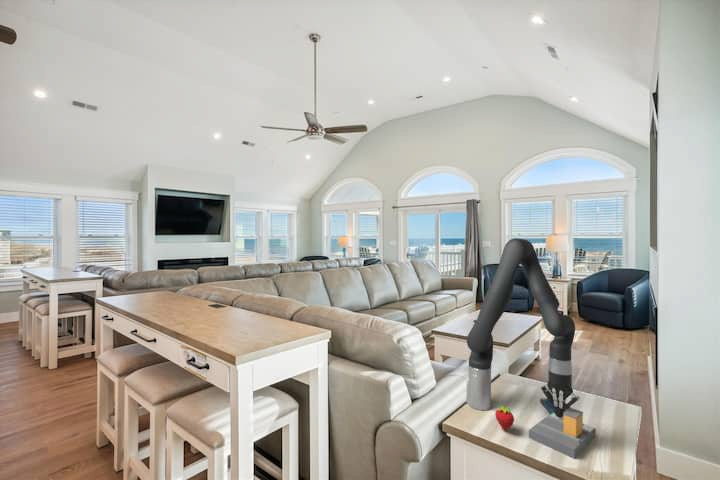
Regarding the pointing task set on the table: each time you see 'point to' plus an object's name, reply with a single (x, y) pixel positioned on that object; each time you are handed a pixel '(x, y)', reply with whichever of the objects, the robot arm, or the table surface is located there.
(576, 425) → the breaker toggle
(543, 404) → the seashell
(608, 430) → the table surface
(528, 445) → the table surface
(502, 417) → the strawberry
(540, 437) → the panel
